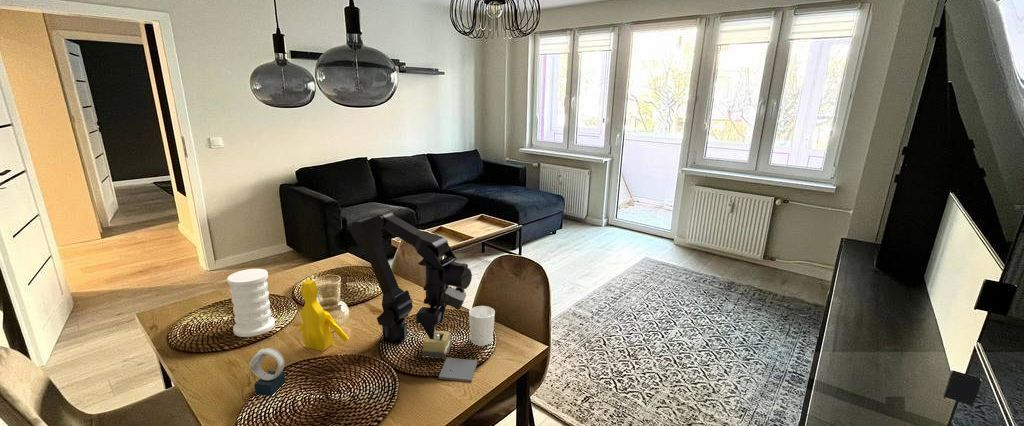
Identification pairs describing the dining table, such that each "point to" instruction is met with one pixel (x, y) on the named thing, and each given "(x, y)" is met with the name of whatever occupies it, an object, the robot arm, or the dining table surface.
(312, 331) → the figure statuette
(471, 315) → the white cup
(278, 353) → the white ring sculpture
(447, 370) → the felt coaster
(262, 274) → the decorative container
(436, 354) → the grey peg base
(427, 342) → the square hollow block
